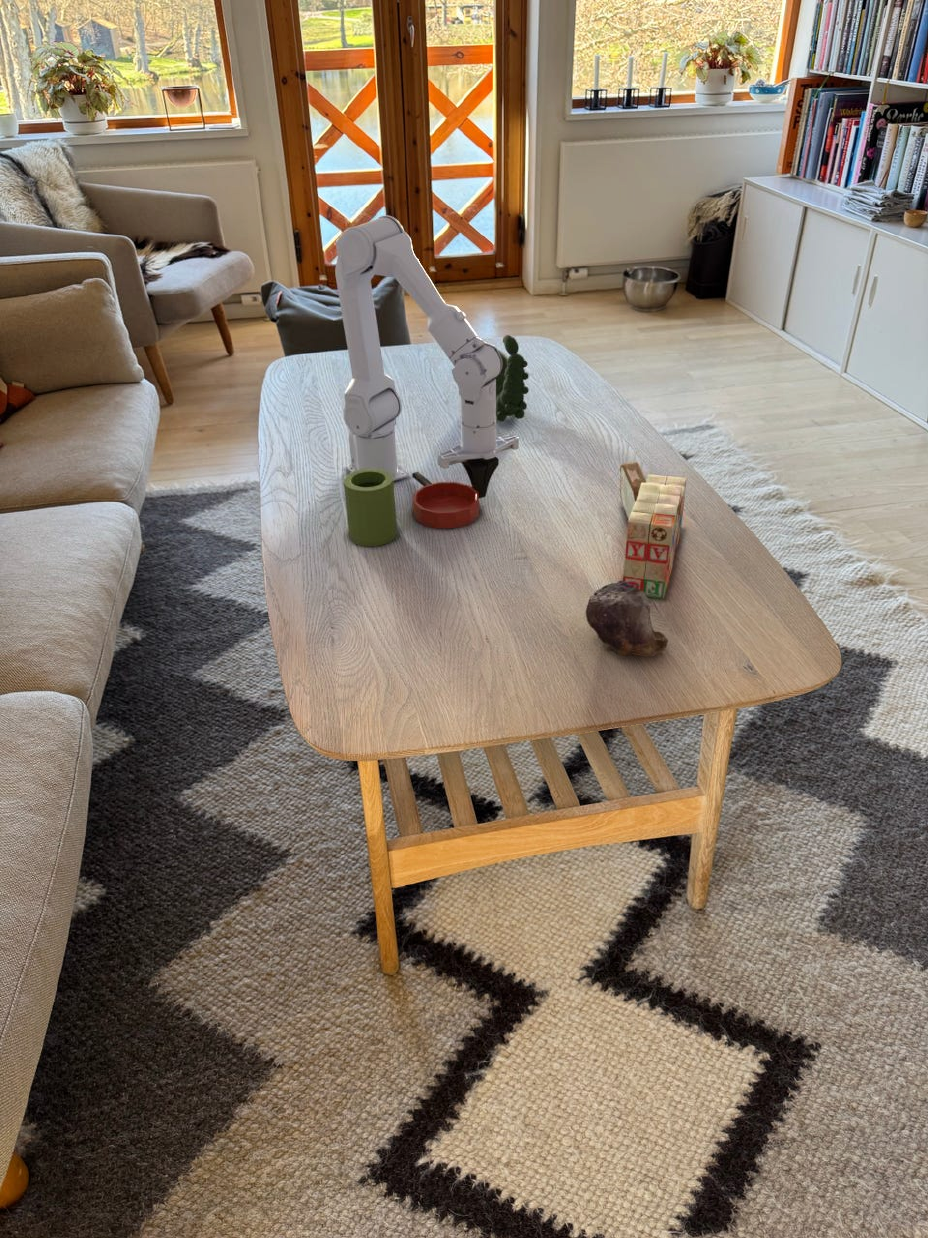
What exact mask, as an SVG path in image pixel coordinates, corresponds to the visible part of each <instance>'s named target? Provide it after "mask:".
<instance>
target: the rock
mask: <svg viewBox="0 0 928 1238" xmlns="http://www.w3.org/2000/svg"><path fill="white" fill-rule="evenodd" d="M585 616H586V621H587V623H588V625H589V627H590V628H591V629H593V630H594V631H595V633H596V634H597V637H598V639H600V641H601V642H602V643H603V644H605V645H607V646H608V649H609V650H613V651H614V652H615V653H619V655H621V656H627V655H636V656H639V657H640V656H642V657H654V656H656V655H657V654H659V653H661V652H662V651H664V649H665V648H667V646H668V643H669V639H668V638H667V637H666V636H665V635H664V633H662V632H661V631H658V630H657V631H655V630H654V628H653V625H652V624H653V623H652V620H651V604H650V602H649V597H646V595H645V593H644V592H642V591H641V590H640V589H638V588H635V586H634V585H633V584H632V585H630V584H628V583H626V582H625V581H623V580H618V581H617V582H612V583H608V584H606V585H603V586H602V587H600V588H598V589H597V590H595V591H594V592H593V594H592V595H590V596H589V600H588V601H587V605H586V609H585Z"/></svg>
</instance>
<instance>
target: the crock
mask: <svg viewBox="0 0 928 1238" xmlns="http://www.w3.org/2000/svg"><path fill="white" fill-rule="evenodd" d="M394 483H395V481H393V475H392V474H390V473H389V472H388V471H385V470H382V469H375V468H369V469H360V470H357V471H353V472H349V473H348V474H346V475H345V477H344V478H343V489H344V499H345V500H344V501H345V509H346V519H347V526H348V527H347V528H348V536H349V539H350V541H351V542H352V543H354V544H356V545H359V546H363V547H379V546H383V545H386V544H389V543H391V542H392V541H394V540H395V539H396V537H397V535H398V523H397V511H396V510H397V509H396V497H395V484H394Z"/></svg>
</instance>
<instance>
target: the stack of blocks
mask: <svg viewBox="0 0 928 1238" xmlns="http://www.w3.org/2000/svg"><path fill="white" fill-rule="evenodd" d="M645 479H646V483H641V486H640V489H639V493H638V497H637V500H636V502H635V504H634V507H633V510H632V512H631V515H630V518H629V520H628V519H627V529H626V541H625V550H624V551H625V553H624V567H623V575H622V581H625V582H626V583H628V584H630V585H632V584H633V585H634V586H635V588H638V589H640V590H641V591H642V592H644V593H645V595H646V597H647V598H654V599H660V600H664V598H665V594H666V590H667V588H668V585H669V581H670V576H671V573H672V570H673V563H674V558H675V553H676V549H677V547H678V544H679V540H680V536H681V530H682V524H683V516H684V507H685V500H686V498H685V497H686V496H685V495H686V494H685V493H686V487H687V486H686V485H687V478H686V477H679V476H672V475H671V476H670V475H667V476H666V475H661V474H660V475H658V474H651V473H650V474H647V476H646V478H645Z"/></svg>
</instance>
